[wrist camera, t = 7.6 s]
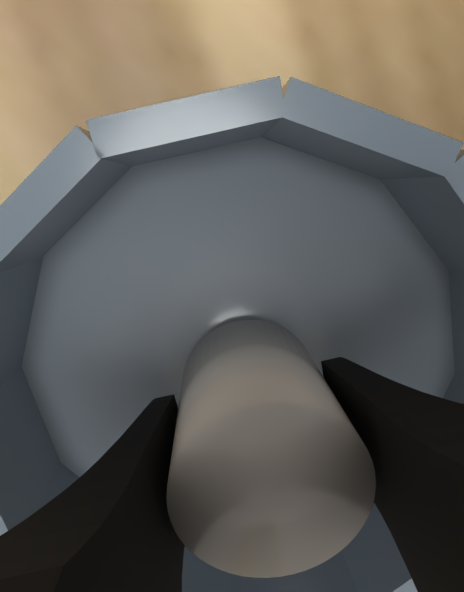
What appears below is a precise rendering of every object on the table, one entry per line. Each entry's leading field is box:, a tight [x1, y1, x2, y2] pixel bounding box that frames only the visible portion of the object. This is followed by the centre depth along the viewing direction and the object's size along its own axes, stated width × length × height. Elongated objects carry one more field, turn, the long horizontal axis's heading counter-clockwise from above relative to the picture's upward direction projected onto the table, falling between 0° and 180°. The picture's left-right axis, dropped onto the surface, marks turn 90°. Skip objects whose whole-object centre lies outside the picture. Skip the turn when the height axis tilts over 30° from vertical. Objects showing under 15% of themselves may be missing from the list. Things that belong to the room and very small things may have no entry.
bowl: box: [0, 76, 464, 592], centre depth 13 cm, size 17×17×4 cm
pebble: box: [166, 320, 376, 578], centre depth 11 cm, size 4×4×5 cm
